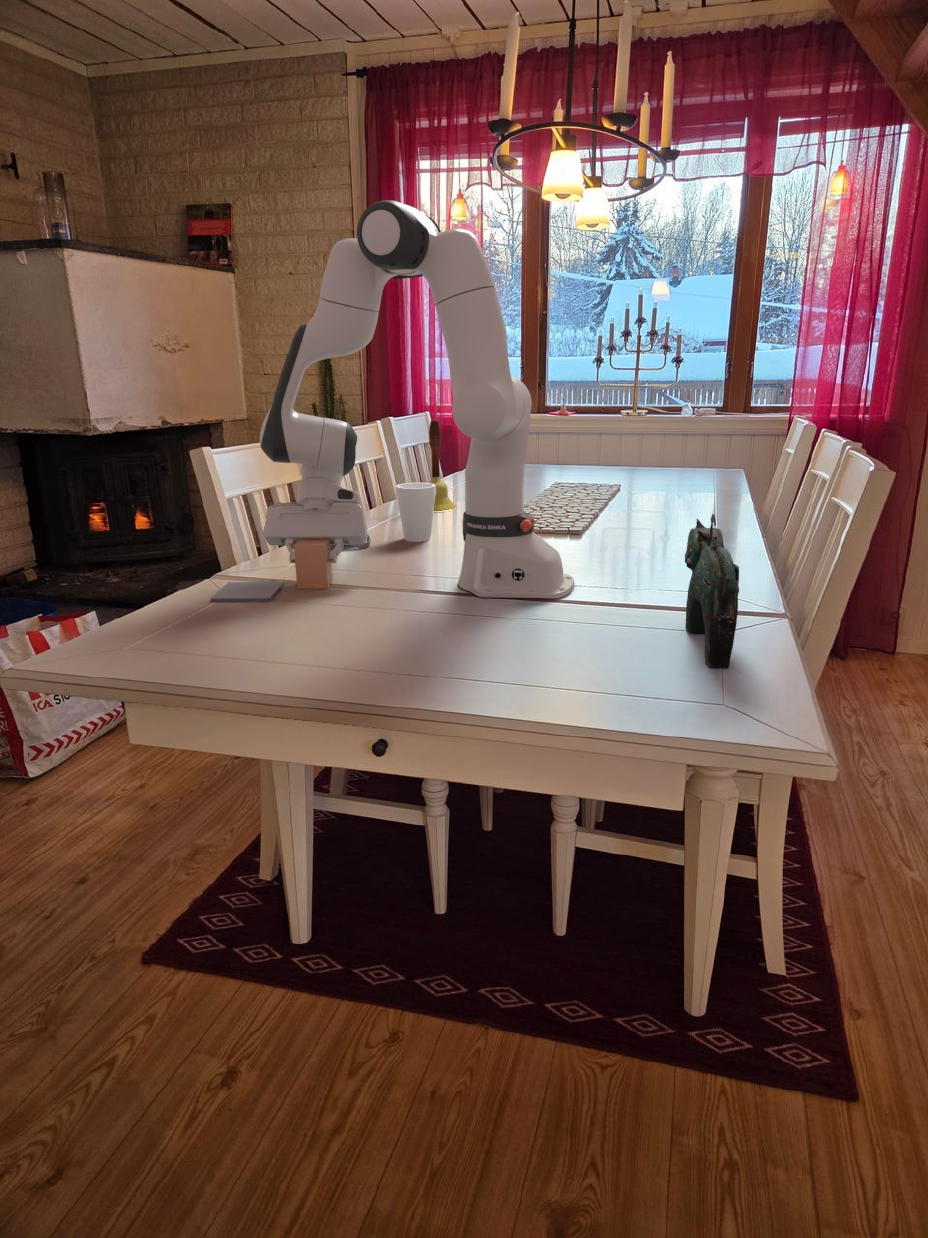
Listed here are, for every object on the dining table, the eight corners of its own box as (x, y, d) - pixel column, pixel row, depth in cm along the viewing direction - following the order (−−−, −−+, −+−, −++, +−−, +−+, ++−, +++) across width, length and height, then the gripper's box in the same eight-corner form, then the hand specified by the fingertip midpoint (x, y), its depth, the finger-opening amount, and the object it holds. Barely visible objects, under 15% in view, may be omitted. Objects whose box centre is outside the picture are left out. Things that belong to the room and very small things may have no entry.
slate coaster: (284, 584, 156) (283, 581, 156) (269, 601, 146) (269, 598, 146) (228, 585, 157) (228, 582, 156) (210, 601, 146) (210, 598, 146)
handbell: (464, 506, 234) (463, 418, 226) (446, 513, 223) (444, 422, 215) (427, 503, 239) (424, 418, 231) (407, 510, 228) (404, 421, 220)
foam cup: (431, 544, 188) (429, 489, 184) (393, 542, 190) (391, 488, 186) (440, 535, 197) (439, 482, 193) (404, 534, 198) (402, 482, 194)
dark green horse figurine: (676, 624, 131) (686, 504, 125) (717, 625, 130) (728, 504, 124) (698, 670, 112) (710, 531, 106) (745, 671, 112) (760, 531, 105)
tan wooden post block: (332, 581, 158) (329, 539, 155) (328, 588, 153) (325, 545, 151) (302, 581, 158) (299, 539, 155) (297, 588, 153) (293, 545, 151)
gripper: (264, 493, 157) (255, 553, 151) (366, 492, 157) (362, 552, 151) (271, 511, 163) (263, 570, 157) (371, 510, 162) (366, 569, 156)
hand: (312, 561), depth 154 cm, fingers closed on tan wooden post block, 6 cm apart
